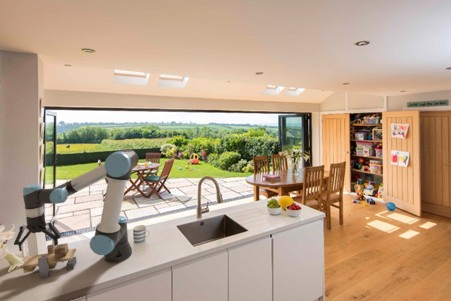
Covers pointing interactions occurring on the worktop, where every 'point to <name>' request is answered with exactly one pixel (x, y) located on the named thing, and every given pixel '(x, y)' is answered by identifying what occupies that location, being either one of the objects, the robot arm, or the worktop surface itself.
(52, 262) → the tan piece
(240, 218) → the worktop surface
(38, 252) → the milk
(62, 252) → the block
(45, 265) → the fulcrum
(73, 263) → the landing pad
